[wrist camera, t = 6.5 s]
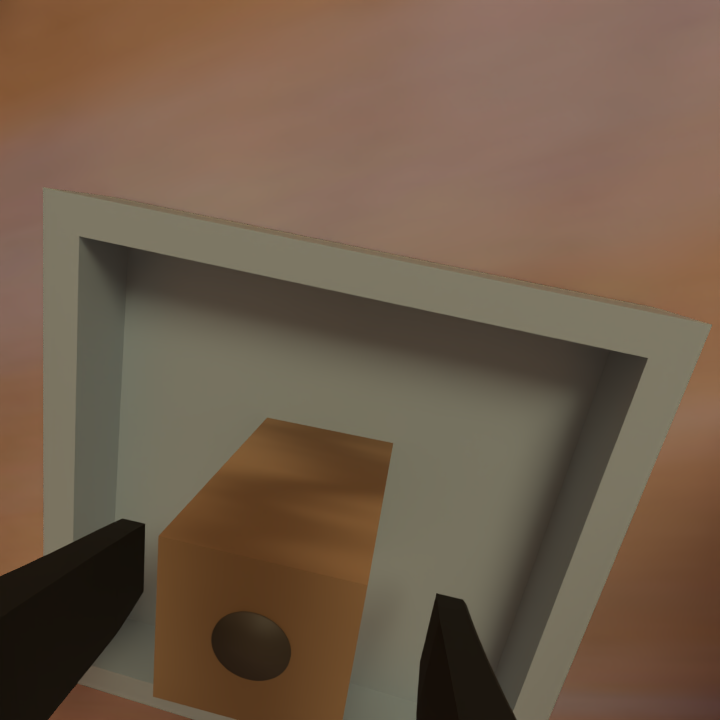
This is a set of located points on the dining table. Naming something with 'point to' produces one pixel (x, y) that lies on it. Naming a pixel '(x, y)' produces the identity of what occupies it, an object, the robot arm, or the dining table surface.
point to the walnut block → (270, 576)
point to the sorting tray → (355, 423)
